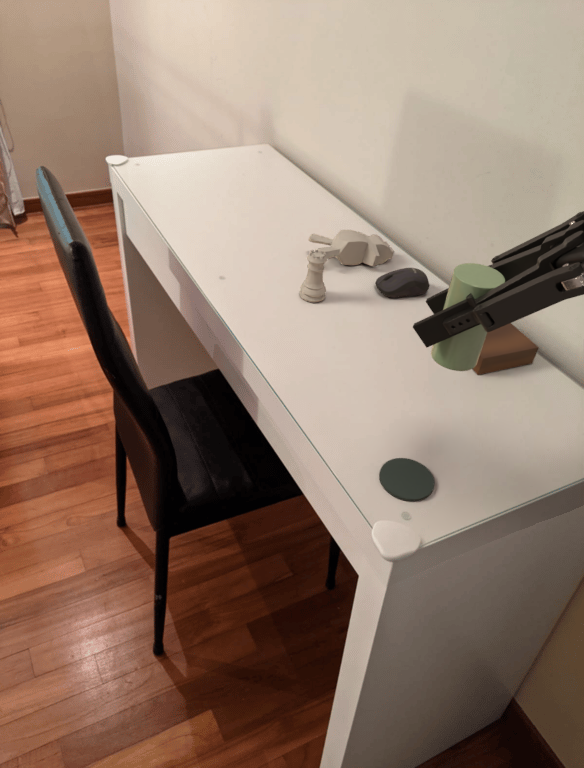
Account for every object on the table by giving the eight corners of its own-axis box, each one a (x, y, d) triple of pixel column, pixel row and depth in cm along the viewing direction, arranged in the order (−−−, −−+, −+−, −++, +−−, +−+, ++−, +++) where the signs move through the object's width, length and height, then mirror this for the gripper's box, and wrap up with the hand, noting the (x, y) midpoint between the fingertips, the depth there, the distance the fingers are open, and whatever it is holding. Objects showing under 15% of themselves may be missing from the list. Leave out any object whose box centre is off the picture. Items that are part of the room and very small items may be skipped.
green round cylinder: (486, 367, 65) (516, 284, 59) (447, 374, 63) (473, 290, 57) (460, 340, 68) (485, 260, 62) (422, 347, 67) (444, 265, 60)
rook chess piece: (293, 293, 102) (297, 250, 97) (314, 287, 104) (319, 244, 99) (310, 306, 99) (315, 262, 94) (331, 299, 101) (337, 255, 96)
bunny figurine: (403, 250, 108) (324, 245, 104) (394, 275, 111) (317, 271, 107) (383, 227, 115) (309, 220, 110) (376, 251, 118) (303, 246, 114)
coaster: (444, 493, 70) (445, 491, 70) (396, 507, 68) (396, 505, 68) (415, 455, 75) (416, 452, 74) (369, 466, 73) (370, 464, 72)
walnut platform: (532, 363, 92) (539, 347, 90) (477, 375, 88) (483, 358, 86) (492, 327, 99) (497, 311, 97) (440, 336, 95) (445, 320, 93)
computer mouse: (370, 283, 106) (374, 262, 104) (419, 280, 109) (424, 260, 106) (382, 300, 102) (386, 279, 100) (432, 297, 105) (438, 276, 102)
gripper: (642, 142, 56) (427, 259, 70) (650, 210, 43) (383, 336, 57) (677, 211, 58) (461, 311, 72) (694, 296, 45) (425, 397, 59)
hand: (427, 322), depth 65 cm, fingers closed on green round cylinder, 5 cm apart
